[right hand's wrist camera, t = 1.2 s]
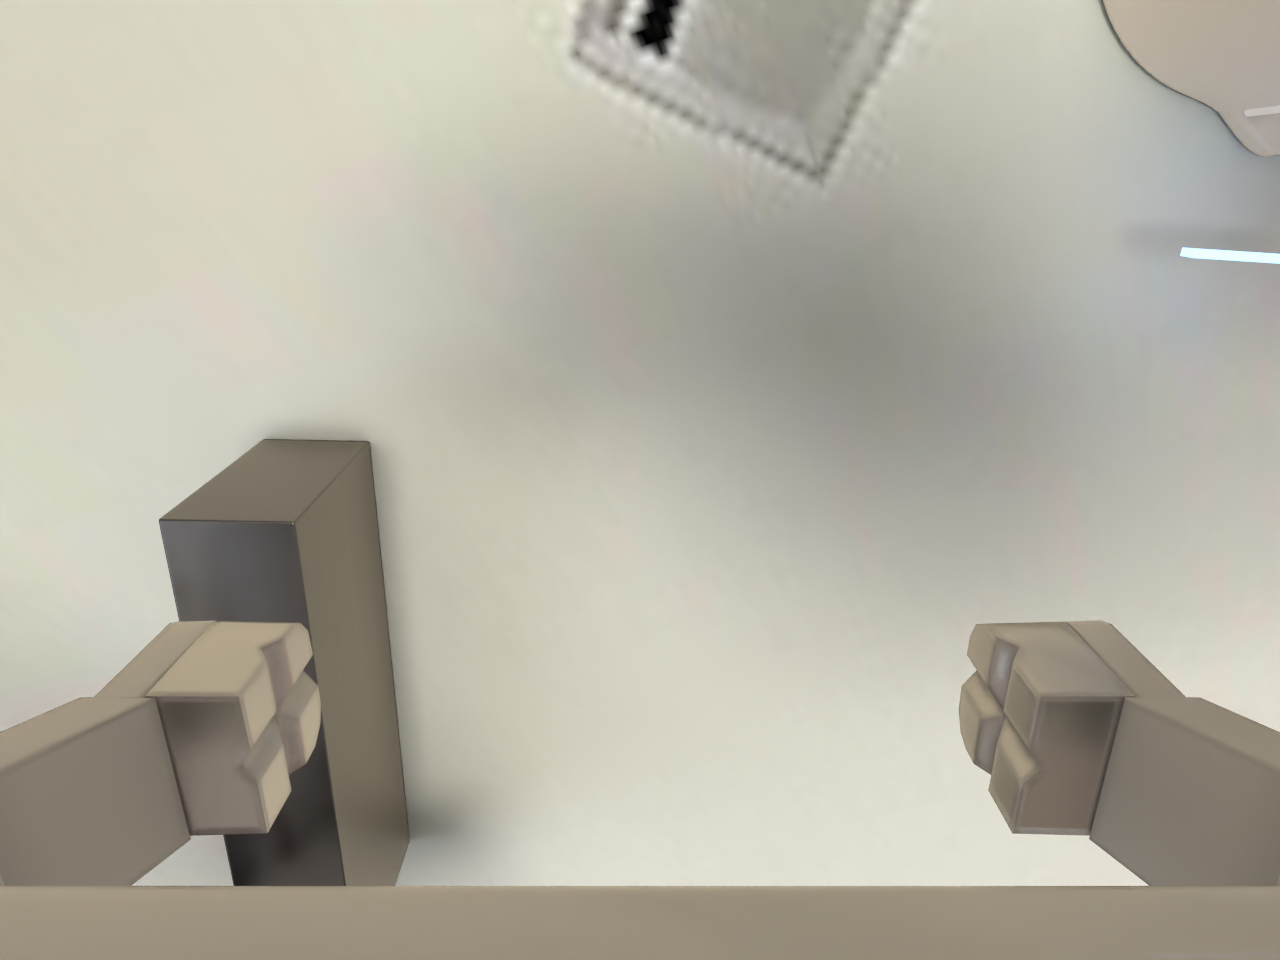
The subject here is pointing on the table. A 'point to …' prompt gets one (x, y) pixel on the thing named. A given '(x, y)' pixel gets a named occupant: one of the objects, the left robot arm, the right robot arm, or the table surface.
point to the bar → (340, 639)
